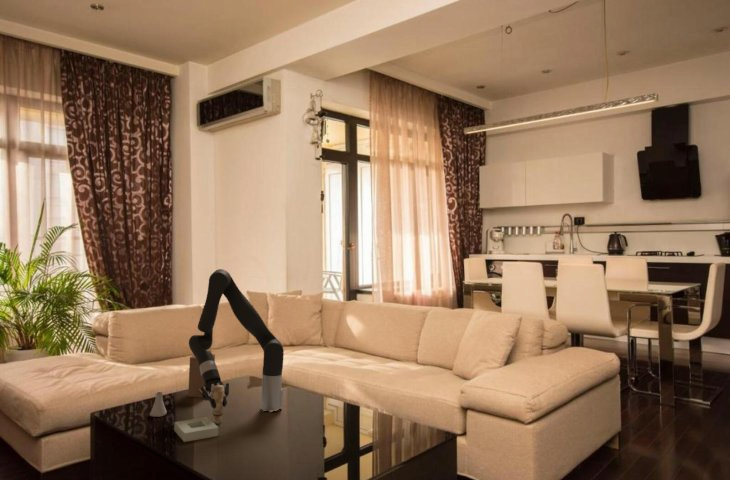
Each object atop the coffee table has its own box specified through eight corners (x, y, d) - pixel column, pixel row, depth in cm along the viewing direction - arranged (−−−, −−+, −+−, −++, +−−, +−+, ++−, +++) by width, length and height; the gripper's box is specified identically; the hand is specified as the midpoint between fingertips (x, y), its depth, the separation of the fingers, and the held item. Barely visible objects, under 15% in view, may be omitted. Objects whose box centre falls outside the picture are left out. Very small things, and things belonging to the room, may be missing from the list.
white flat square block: (206, 424, 237) (207, 416, 237) (218, 435, 226) (218, 427, 226) (174, 430, 229) (174, 422, 229) (184, 441, 218) (184, 433, 218)
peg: (220, 420, 244) (221, 384, 243) (223, 423, 240) (225, 387, 240) (211, 421, 241) (212, 385, 241) (214, 424, 238) (216, 388, 238)
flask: (160, 418, 242) (161, 395, 242) (146, 416, 244) (147, 394, 244) (169, 412, 249) (170, 391, 249) (155, 411, 251) (156, 389, 251)
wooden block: (207, 398, 273) (209, 358, 272) (187, 397, 273) (189, 357, 273) (213, 392, 283) (215, 354, 282) (194, 391, 283) (196, 352, 283)
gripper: (197, 370, 242) (207, 405, 233) (227, 366, 251) (237, 399, 242) (192, 379, 246) (201, 413, 237) (221, 375, 255) (232, 408, 246)
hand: (220, 406), depth 239 cm, fingers open, 4 cm apart
